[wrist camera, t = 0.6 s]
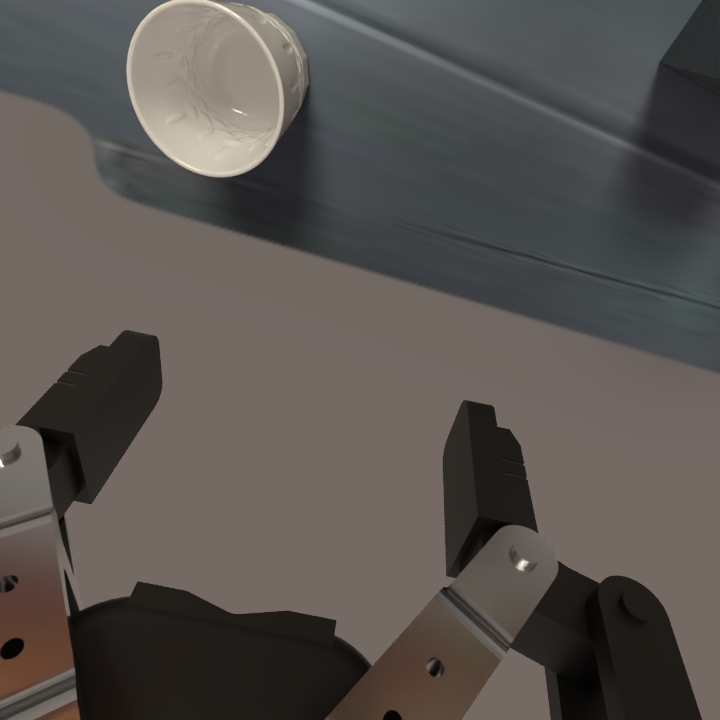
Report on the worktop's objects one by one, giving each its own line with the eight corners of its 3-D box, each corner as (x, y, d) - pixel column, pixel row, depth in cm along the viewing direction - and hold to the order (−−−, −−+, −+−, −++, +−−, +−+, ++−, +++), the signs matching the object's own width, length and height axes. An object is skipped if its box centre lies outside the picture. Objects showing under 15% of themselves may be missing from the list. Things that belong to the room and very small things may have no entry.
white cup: (296, -22, 30) (248, -27, 22) (333, 119, 34) (304, 158, 26) (179, 18, 32) (95, 27, 24) (228, 147, 36) (171, 192, 28)
